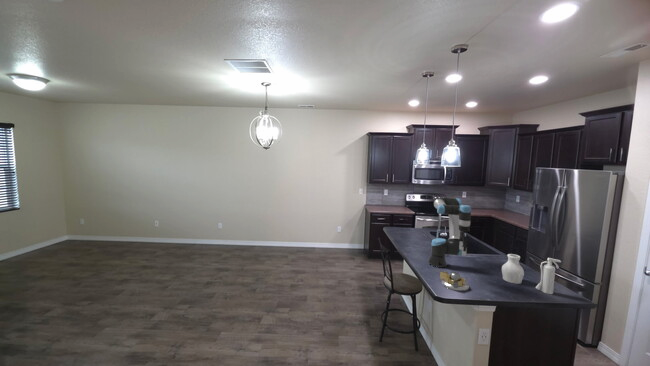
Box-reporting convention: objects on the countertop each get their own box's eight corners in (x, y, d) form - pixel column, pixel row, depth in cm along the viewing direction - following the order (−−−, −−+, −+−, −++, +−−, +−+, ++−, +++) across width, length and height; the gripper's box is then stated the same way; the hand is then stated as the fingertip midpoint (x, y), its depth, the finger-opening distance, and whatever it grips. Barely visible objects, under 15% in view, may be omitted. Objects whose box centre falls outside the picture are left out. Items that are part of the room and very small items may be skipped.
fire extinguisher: (533, 287, 190) (537, 255, 187) (554, 291, 184) (559, 258, 182) (536, 291, 183) (540, 258, 181) (557, 296, 178) (563, 261, 176)
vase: (496, 277, 205) (498, 253, 204) (508, 275, 211) (509, 251, 209) (516, 285, 192) (518, 259, 190) (527, 282, 198) (529, 257, 196)
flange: (437, 284, 190) (438, 272, 190) (447, 277, 202) (448, 266, 202) (462, 294, 177) (463, 281, 176) (472, 286, 189) (473, 274, 188)
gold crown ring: (437, 279, 193) (437, 273, 193) (444, 275, 201) (444, 269, 201) (460, 288, 181) (460, 281, 180) (467, 283, 189) (467, 276, 189)
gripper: (456, 221, 209) (455, 246, 211) (461, 228, 186) (459, 256, 188) (466, 222, 207) (465, 248, 208) (473, 229, 184) (471, 258, 185)
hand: (462, 252), depth 198 cm, fingers open, 13 cm apart
